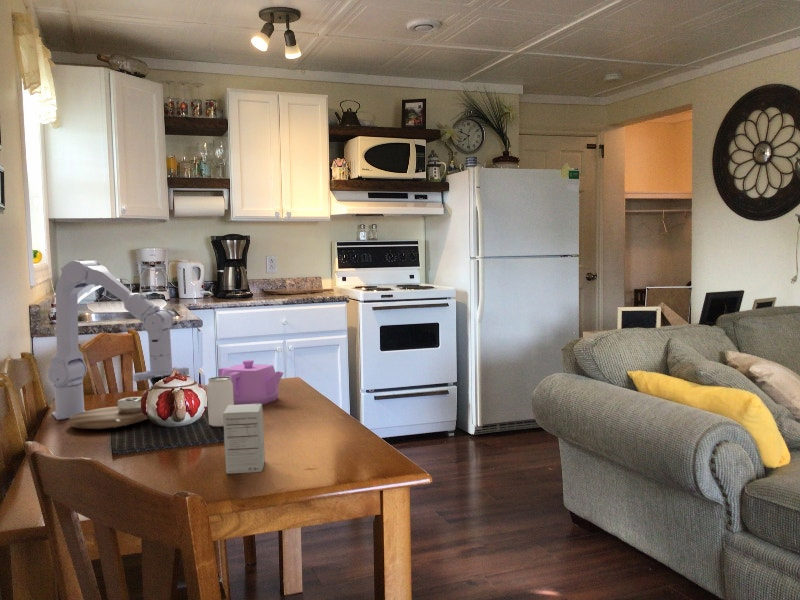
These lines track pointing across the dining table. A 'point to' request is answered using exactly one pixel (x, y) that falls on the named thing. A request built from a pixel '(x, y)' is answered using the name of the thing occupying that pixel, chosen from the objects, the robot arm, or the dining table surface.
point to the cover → (129, 405)
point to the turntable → (104, 418)
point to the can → (219, 399)
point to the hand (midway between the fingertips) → (163, 403)
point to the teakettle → (253, 382)
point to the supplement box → (244, 438)
